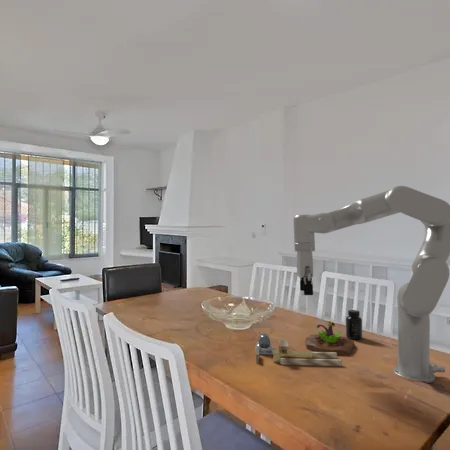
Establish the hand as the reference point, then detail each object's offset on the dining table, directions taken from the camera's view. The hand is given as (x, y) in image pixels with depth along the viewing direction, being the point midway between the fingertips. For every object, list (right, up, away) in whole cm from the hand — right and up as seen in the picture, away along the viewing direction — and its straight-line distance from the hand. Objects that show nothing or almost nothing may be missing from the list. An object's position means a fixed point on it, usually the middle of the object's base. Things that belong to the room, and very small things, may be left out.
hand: (306, 292), depth 133 cm
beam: (-4, -25, -2) cm, 25 cm away
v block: (-15, -25, +8) cm, 30 cm away
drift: (-6, -25, -2) cm, 26 cm away
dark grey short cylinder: (-16, -19, +8) cm, 26 cm away
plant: (+13, -26, +14) cm, 32 cm away
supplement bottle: (+27, -25, +25) cm, 45 cm away
